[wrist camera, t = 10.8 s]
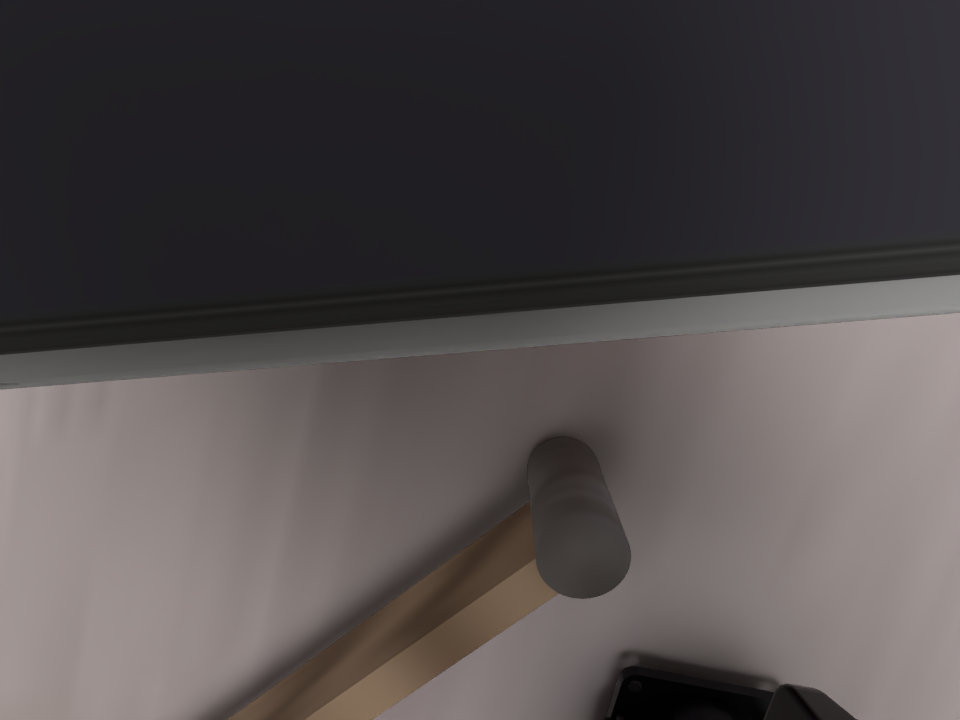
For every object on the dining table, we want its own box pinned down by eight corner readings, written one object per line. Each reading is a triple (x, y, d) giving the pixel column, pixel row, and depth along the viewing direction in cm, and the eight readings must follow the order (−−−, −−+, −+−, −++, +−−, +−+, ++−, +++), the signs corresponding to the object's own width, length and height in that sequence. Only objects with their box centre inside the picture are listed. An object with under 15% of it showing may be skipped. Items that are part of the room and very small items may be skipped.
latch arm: (569, 423, 19) (592, 497, 14) (612, 475, 20) (649, 564, 15) (111, 763, 24) (13, 906, 19) (155, 799, 24) (70, 948, 19)
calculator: (348, 262, 19) (-167, 478, 4) (326, 118, 18) (-474, -261, 3) (698, 231, 18) (1493, 358, 4) (699, 79, 17) (1854, -609, 3)
